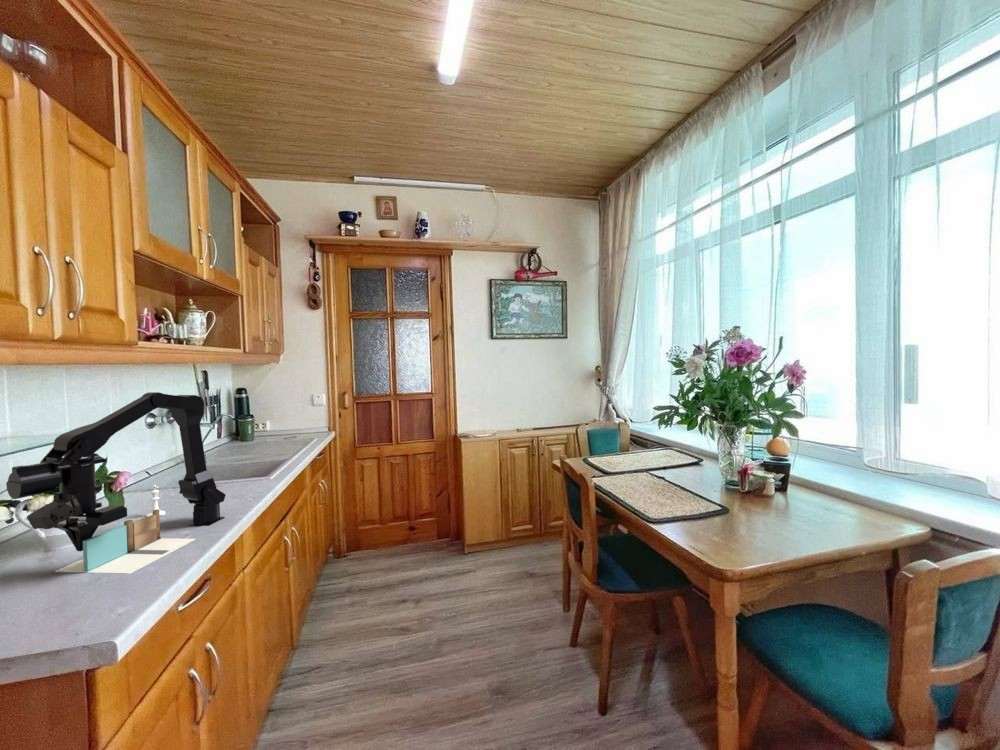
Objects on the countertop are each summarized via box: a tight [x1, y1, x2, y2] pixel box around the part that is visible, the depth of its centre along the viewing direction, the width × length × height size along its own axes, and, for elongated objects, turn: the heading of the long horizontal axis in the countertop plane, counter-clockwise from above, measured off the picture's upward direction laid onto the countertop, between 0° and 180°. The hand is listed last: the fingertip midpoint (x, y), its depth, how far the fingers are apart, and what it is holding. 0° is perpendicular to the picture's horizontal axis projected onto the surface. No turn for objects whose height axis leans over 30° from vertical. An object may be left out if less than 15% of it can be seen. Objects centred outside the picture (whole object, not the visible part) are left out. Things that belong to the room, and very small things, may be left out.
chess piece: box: [145, 484, 166, 517], centre depth 127 cm, size 5×5×10 cm
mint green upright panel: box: [82, 524, 127, 571], centre depth 96 cm, size 9×1×7 cm, turn 176°
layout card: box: [54, 537, 196, 574], centre depth 100 cm, size 18×19×1 cm
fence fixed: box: [123, 508, 161, 553], centre depth 105 cm, size 9×2×8 cm, turn 176°
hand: (81, 550), depth 93 cm, fingers closed
